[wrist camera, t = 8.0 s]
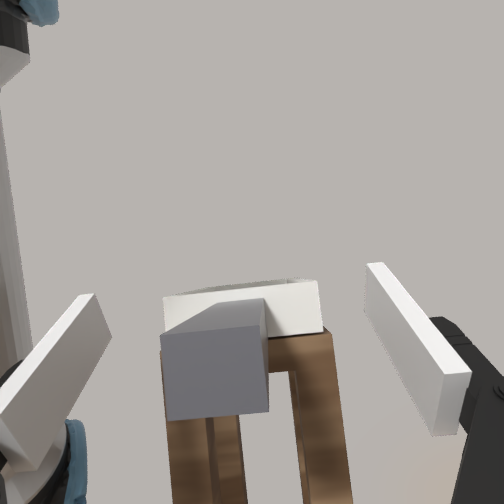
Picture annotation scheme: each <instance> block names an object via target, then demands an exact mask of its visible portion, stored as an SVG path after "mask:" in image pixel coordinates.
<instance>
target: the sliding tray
mask: <svg viewBox="0 0 504 504" xmlns="http://www.w3.org/2000/svg"><path fill="white" fill-rule="evenodd" d="M163 305H164V317H165V328H166V332H165V333H163V334H161V335H160V342H161V354H162V366H163V378H164V389H165V401H166V412H167V421H176V420H187V419H198V418H209V417H219V416H230V415H240V414H251V413H262V412H269V382H268V381H269V376H268V337H276V336H285V335H295V334H305V333H315V332H323V325H322V316H321V308H320V300H319V292H318V284H317V281H314V280H307V279H300V278H290V279H281V280H271V281H262V282H253V283H245V284H235V285H225V286H216V287H208V288H203V289H199V290H194V291H190V292H185V293H181V294H176V295H172V296H168V297H163Z"/></svg>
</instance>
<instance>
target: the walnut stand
mask: <svg viewBox="0 0 504 504" xmlns="http://www.w3.org/2000/svg"><path fill="white" fill-rule="evenodd" d="M160 359H161V371H162V382H163V394H164V406H165V417H166V429H167V441H168V451H169V462H170V463H169V464H170V475H171V487H172V499H173V504H248V500H247V490H246V482H245V471H244V462H243V451H242V442H241V432H240V422H239V415H230V416H219V417H209V418H198V419H187V420H176V421H167V412H166V401H165V389H164V378H163V366H162V354H161V351H160ZM284 371H288V374H289V382H290V391H291V400H292V409H293V417H294V426H295V435H296V443H297V452H298V461H299V470H300V478H301V487H302V495H303V504H353V498H352V491H351V482H350V475H349V466H348V459H347V451H346V443H345V435H344V427H343V419H342V411H341V404H340V396H339V387H338V379H337V372H336V363H335V355H334V348H333V339H332V334H331V333H330V332H329V331H328V330H327V329H326V328H325V327H324V326H323V332H315V333H305V334H295V335H285V336H276V337H268V373H274V372H284Z"/></svg>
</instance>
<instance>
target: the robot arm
mask: <svg viewBox="0 0 504 504" xmlns="http://www.w3.org/2000/svg"><path fill="white" fill-rule="evenodd" d="M58 18H59V11H58V1H57V0H0V90H1V87H3V86H4V85H5V84H6V83H7V82H8V81H9V80H10V79H12V78H13V77H14V76H15V75H16V74H17V73H18V72H20V70H22V69H23V68H24V67H25V66H26V65H27V64H28V63H30V54H29V44H28V34H27V22H31V23H32V24H35V25H39V26H41V27H43V26H45V25H53V24H55V23H56V22H57V21H58ZM364 312H365V314H366V316H367V317H368V319H369V321H370V322H371V325H372V326H373V328H374V330H375V332H376V334H377V336H378V338H379V339H380V341H381V343H382V345H383V347H384V349H385V351H386V352H387V354H388V356H389V358H390V360H391V361H392V364H393V365H394V367H395V369H396V371H397V373H398V375H399V376H400V378H401V380H402V382H403V384H404V386H405V388H406V389H407V391H408V393H409V395H410V397H411V398H412V400H413V402H414V404H415V406H416V408H417V410H418V411H419V413H420V415H421V417H422V419H423V421H424V423H425V424H426V426H427V428H428V430H429V432H430V434H431V436H432V437H433V436H444V435H445V436H446V435H456V434H457V430H458V426H459V422H460V424H461V425H462V427H463V428H464V430H465V431H466V433H467V434H468V435H467V439H466V443H465V446H464V450H463V454H462V460H461V464H460V468H459V472H458V476H457V480H456V484H455V489H454V493H453V497H452V501H451V504H504V376H502V375H501V374H500V373H499V372H498V370H496V368H495V367H494V366H493V365H492V364H491V363H490V362H489V361H488V359H486V357H485V356H484V355H483V354H482V353H481V352H480V351H479V350H478V348H477V347H476V346H475V345H473V344H472V342H471V341H470V340H469V339H468V338H467V337H465V335H464V333H463V332H462V331H461V330H460V329H459V328H458V327H457V326H456V324H454V323H452V322H451V321H449V320H447V319H446V318H444V317H432V318H428V317H427V316H426V314H425V313H424V312H423V311H422V309H421V308H420V307H419V306H418V305H417V304H416V302H415V301H414V300H413V299H412V297H411V296H410V295H409V294H408V292H407V291H406V290H405V289H404V287H403V286H402V285H401V284H400V283H399V281H398V280H397V279H396V278H395V276H394V275H393V274H392V273H391V271H390V270H389V269H388V268H387V267H386V266H385V264H384V263H383V262H379V263H369V264H366V284H365V308H364ZM111 338H112V336H111V333H110V331H109V328H108V326H107V323H106V321H105V318H104V316H103V314H102V311H101V308H100V306H99V303H98V301H97V298H96V296H95V294H94V293H93V294H84V295H79V296H78V297H77V298H76V300H75V301H74V302H73V303H72V304H71V305H70V307H69V308H68V309H67V310H66V311H65V313H64V314H63V315H62V316H61V317H60V319H59V320H58V321H57V322H56V323H55V324H54V325H53V327H52V328H51V329H50V330H49V331H48V332H47V334H46V335H45V336H44V337H43V339H42V340H41V341H40V342H39V343H38V344H37V345H36V347H35V348H34V349H33V345H32V337H31V330H30V324H29V315H28V309H27V301H26V294H25V286H24V279H23V272H22V265H21V257H20V251H19V243H18V236H17V229H16V221H15V215H14V207H13V199H12V192H11V185H10V178H9V170H8V163H7V156H6V148H5V142H4V134H3V127H2V119H1V112H0V504H86V497H85V496H86V492H87V446H86V436H85V429H84V425H83V423H82V422H81V421H79V420H68V419H66V418H67V416H68V415H69V413H70V411H71V409H72V407H73V406H74V404H75V402H76V400H77V398H78V397H79V395H80V393H81V392H82V390H83V388H84V386H85V384H86V382H87V381H88V379H89V377H90V375H91V374H92V372H93V370H94V368H95V367H96V365H97V363H98V361H99V360H100V358H101V356H102V354H103V353H104V351H105V349H106V347H107V345H108V343H109V342H110V340H111Z"/></svg>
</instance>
